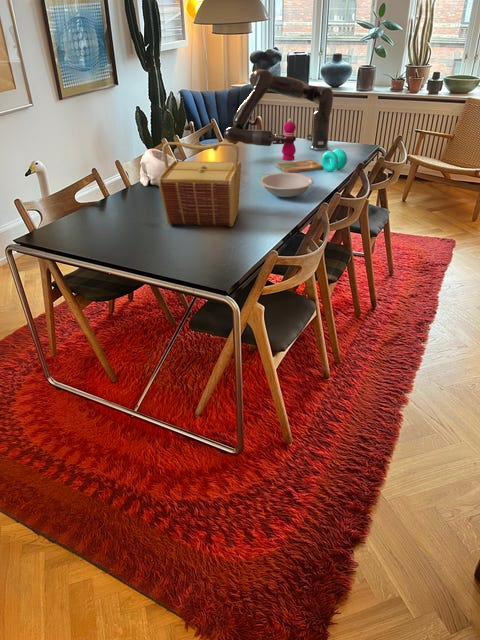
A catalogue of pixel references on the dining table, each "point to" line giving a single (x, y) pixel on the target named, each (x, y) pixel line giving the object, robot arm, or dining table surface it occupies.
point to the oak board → (299, 166)
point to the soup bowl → (286, 184)
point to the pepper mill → (289, 148)
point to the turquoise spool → (334, 160)
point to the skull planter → (153, 166)
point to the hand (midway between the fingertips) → (294, 139)
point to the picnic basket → (200, 189)
